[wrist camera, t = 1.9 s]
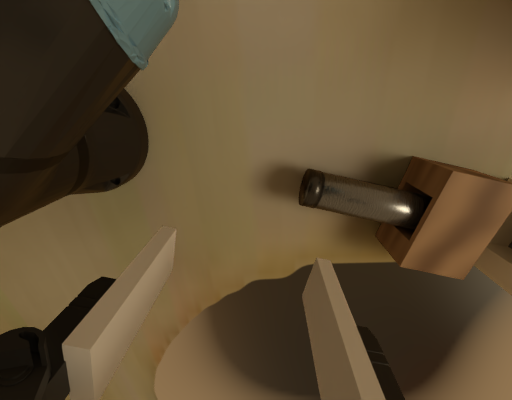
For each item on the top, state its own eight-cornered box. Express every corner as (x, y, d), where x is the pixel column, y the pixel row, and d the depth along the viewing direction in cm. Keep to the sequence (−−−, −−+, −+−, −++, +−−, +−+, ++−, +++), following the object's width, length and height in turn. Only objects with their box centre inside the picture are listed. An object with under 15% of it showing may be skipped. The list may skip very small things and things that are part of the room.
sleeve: (375, 235, 35) (400, 266, 28) (413, 156, 30) (453, 171, 24) (427, 247, 35) (463, 279, 28) (472, 169, 30) (527, 188, 24)
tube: (297, 196, 32) (301, 211, 27) (306, 164, 30) (313, 174, 26) (452, 231, 32) (480, 249, 28) (471, 201, 31) (503, 217, 27)
